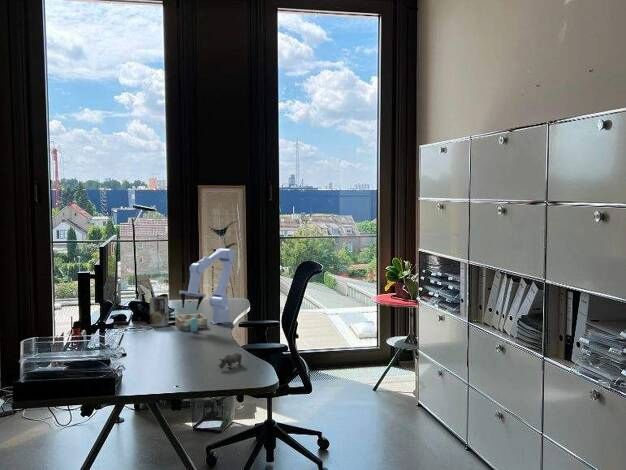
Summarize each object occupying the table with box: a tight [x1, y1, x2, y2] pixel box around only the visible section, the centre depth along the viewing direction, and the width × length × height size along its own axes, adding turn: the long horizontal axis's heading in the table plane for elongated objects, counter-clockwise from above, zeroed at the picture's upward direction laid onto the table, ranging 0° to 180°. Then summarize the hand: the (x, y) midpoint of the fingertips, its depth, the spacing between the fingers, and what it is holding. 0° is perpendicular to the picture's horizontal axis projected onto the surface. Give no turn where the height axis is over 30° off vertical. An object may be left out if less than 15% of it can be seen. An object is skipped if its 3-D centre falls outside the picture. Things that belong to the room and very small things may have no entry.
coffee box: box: [149, 296, 170, 327], centre depth 335 cm, size 9×6×16 cm
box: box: [174, 313, 208, 332], centre depth 332 cm, size 15×15×6 cm
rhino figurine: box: [217, 352, 243, 370], centre depth 254 cm, size 4×14×6 cm, turn 140°
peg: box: [189, 318, 198, 333], centre depth 321 cm, size 4×4×7 cm
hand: (189, 308), depth 322 cm, fingers open, 7 cm apart
